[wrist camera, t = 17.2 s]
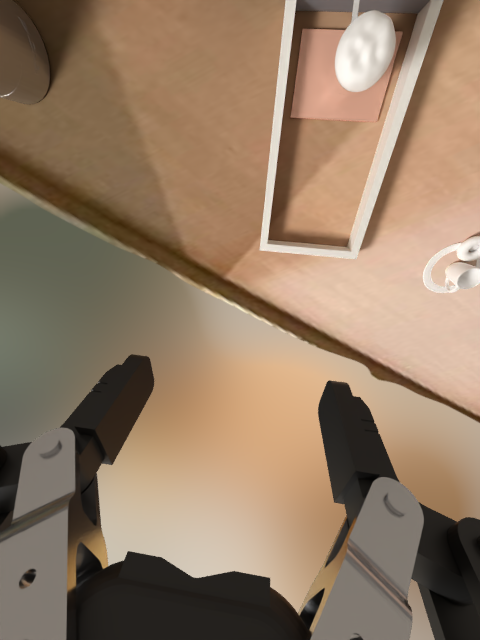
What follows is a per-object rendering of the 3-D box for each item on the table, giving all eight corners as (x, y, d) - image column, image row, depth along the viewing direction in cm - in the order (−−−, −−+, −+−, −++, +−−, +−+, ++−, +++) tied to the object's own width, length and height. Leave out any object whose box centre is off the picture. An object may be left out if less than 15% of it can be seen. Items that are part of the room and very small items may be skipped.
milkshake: (351, 31, 24) (392, -42, 16) (368, 90, 26) (413, 53, 18) (309, 68, 26) (326, 20, 17) (329, 120, 28) (353, 99, 19)
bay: (260, 245, 37) (259, 251, 34) (287, -9, 23) (288, -30, 21) (351, 254, 36) (357, 260, 33) (434, -6, 22) (455, -29, 20)
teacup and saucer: (474, 224, 32) (497, 231, 29) (499, 263, 35) (524, 273, 31) (411, 268, 36) (425, 279, 33) (437, 300, 39) (453, 313, 35)
